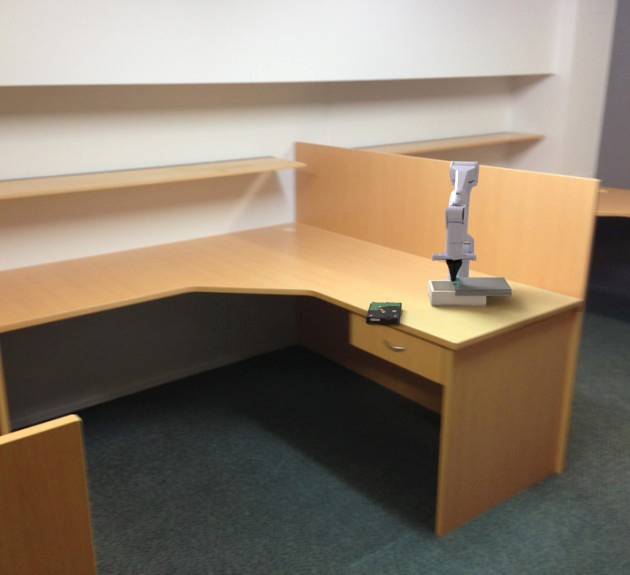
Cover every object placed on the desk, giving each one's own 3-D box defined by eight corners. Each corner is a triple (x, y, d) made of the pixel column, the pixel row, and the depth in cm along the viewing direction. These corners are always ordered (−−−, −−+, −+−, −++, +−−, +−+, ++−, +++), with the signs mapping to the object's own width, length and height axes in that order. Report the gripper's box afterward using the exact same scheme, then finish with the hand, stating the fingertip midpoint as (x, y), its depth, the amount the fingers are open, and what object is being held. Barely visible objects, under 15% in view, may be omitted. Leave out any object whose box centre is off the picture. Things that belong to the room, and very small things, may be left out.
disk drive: (399, 326, 214) (401, 309, 228) (399, 318, 213) (401, 301, 227) (365, 325, 216) (370, 308, 230) (365, 316, 215) (370, 300, 229)
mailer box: (428, 293, 242) (428, 280, 240) (479, 293, 241) (480, 280, 239) (431, 305, 230) (431, 291, 228) (485, 306, 229) (486, 291, 227)
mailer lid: (450, 282, 241) (450, 271, 240) (503, 282, 240) (503, 271, 239) (455, 295, 227) (455, 284, 226) (511, 295, 226) (512, 284, 225)
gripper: (433, 244, 226) (432, 284, 230) (478, 244, 225) (476, 284, 229) (431, 239, 233) (430, 278, 237) (475, 239, 232) (473, 278, 236)
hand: (452, 280), depth 233 cm, fingers closed
